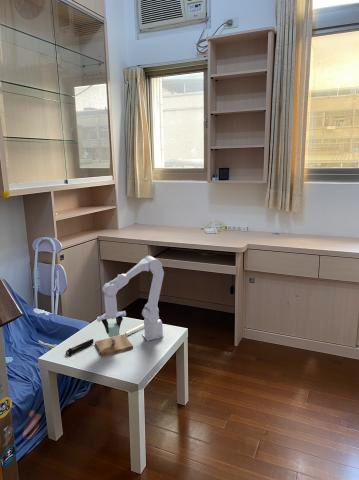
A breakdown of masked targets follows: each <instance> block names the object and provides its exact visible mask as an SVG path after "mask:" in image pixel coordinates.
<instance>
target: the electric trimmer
mask: <svg viewBox="0 0 359 480" xmlns="http://www.w3.org/2000/svg"><path fill="white" fill-rule="evenodd" d="M93 344H94V338H92V339H91V338H90V339H89V340H86V341H84V342H81V343H80V344H77V345H75V346H73V347H69V348H68V349H67V350H66V352H65V355H66V356H67V357H71V356H72V355H73V354H75V353H77V352H79V351H81V350H85V349H87V348H89V347H90V346H91V345H93Z"/></svg>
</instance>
